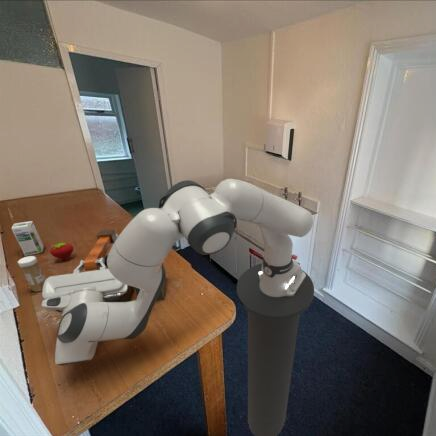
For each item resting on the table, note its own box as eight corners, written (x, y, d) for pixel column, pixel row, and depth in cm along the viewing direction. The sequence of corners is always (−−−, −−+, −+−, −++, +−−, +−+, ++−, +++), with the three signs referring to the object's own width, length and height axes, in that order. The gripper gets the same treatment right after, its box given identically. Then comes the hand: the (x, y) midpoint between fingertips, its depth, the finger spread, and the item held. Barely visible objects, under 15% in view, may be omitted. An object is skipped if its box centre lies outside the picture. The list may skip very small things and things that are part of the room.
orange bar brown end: (100, 268, 74) (96, 258, 72) (82, 271, 72) (78, 260, 71) (116, 238, 91) (114, 229, 89) (102, 239, 89) (100, 230, 87)
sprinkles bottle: (49, 288, 89) (36, 259, 84) (32, 293, 86) (17, 264, 80) (48, 282, 92) (35, 254, 86) (31, 287, 89) (16, 258, 83)
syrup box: (24, 256, 104) (10, 228, 98) (27, 250, 109) (14, 222, 102) (42, 253, 108) (29, 225, 101) (44, 246, 112) (32, 220, 106)
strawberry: (78, 259, 106) (71, 240, 101) (55, 266, 101) (46, 246, 96) (75, 253, 109) (68, 235, 105) (53, 259, 104) (45, 240, 100)
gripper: (123, 291, 69) (127, 250, 76) (33, 307, 62) (46, 260, 69) (130, 298, 74) (133, 259, 81) (46, 312, 67) (58, 268, 74)
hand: (93, 259), depth 75 cm, fingers closed on orange bar brown end, 3 cm apart
